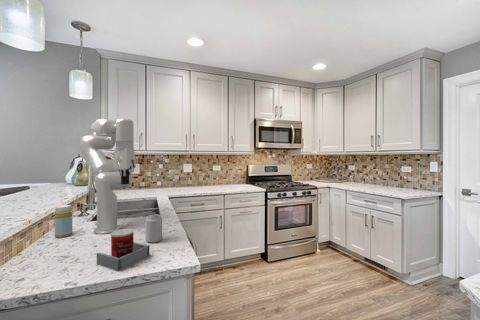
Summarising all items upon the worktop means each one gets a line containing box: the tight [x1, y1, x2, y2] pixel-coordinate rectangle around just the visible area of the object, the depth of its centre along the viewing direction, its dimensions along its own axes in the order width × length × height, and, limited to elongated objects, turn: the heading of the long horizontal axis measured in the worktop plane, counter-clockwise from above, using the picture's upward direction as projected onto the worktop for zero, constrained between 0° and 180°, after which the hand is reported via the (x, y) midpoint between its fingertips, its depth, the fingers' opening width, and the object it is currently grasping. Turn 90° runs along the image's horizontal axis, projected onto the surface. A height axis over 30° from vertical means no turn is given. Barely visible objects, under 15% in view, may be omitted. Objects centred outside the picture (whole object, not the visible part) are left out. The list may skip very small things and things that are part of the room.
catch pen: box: [96, 241, 151, 272], centre depth 90 cm, size 12×14×4 cm
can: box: [144, 213, 163, 244], centre depth 110 cm, size 8×8×12 cm
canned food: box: [110, 228, 135, 258], centre depth 90 cm, size 8×8×11 cm
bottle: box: [54, 204, 73, 239], centre depth 116 cm, size 7×7×15 cm
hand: (125, 184), depth 109 cm, fingers closed
